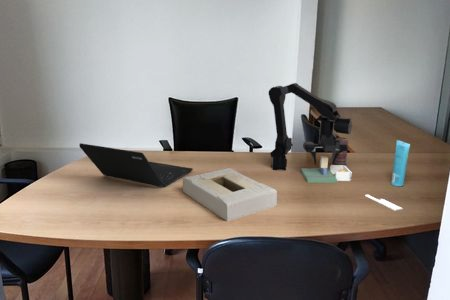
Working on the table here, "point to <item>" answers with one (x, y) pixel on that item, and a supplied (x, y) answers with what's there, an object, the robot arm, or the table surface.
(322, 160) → the beige and blue block
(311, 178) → the panel
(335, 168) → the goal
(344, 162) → the can
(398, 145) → the tube
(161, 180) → the laptop
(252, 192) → the box
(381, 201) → the white plastic strip tool
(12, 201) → the table surface
